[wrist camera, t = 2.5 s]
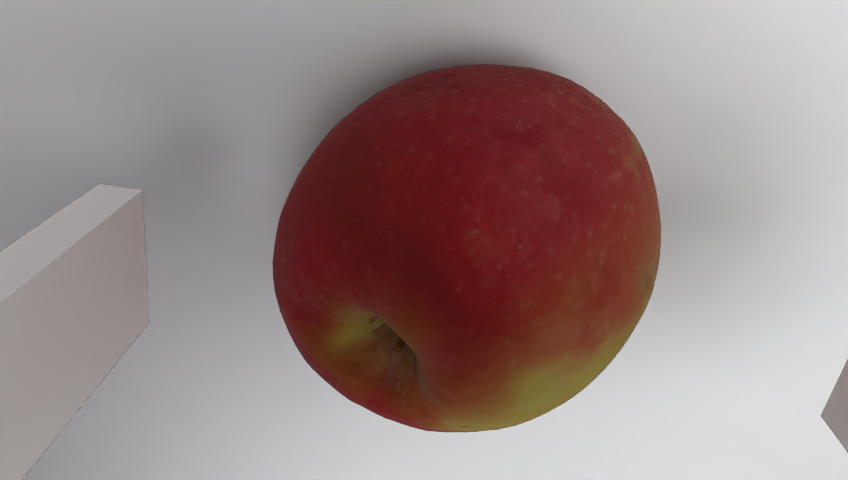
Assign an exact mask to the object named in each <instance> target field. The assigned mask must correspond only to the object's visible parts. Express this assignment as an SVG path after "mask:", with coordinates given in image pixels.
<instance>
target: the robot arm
mask: <svg viewBox="0 0 848 480" xmlns="http://www.w3.org/2000/svg"><path fill="white" fill-rule="evenodd" d="M148 324H149V305H148V287H147V268H146V250H145V231H144V213H143V194H142V190H139V189H132V188H125V187H118V186H110V185H103V184H98V185H97V186H95V187H94V188H92V189H91V190H89V191H88V192H86V193H85V194H84V195H82V196H81V197H79V198H78V199H76V200H75V201H73V202H72V203H70V204H69V205H67V206H66V207H65V208H63V209H62V210H60V211H59V212H57V213H56V214H54V215H53V216H51V217H50V218H48V219H47V220H45V221H44V222H43V223H41V224H40V225H38V226H37V227H35V228H34V229H32V230H31V231H29V232H28V233H26V234H25V235H24V236H22V237H21V238H19V239H18V240H16V241H15V242H13V243H12V244H10V245H9V246H7V247H6V248H5V249H3V250H2V251H0V480H22V479H23V478H24V477H25V475H26V474H27V473H28V472H29V471H30V469H31V468H32V467H33V466H34V464H35V463H36V462H37V461H38V459H39V458H40V457H41V456H42V455H43V453H44V452H45V451H46V450H47V448H48V447H49V446H50V445H51V443H52V442H53V441H54V440H55V438H56V437H57V436H58V435H59V434H60V432H61V431H62V430H63V429H64V427H65V426H66V425H67V424H68V422H69V421H70V420H71V419H72V418H73V416H74V415H75V414H76V413H77V411H78V410H79V409H80V408H81V406H82V405H83V404H84V403H85V401H86V400H87V399H88V398H89V397H90V395H91V394H92V393H93V392H94V390H95V389H96V388H97V387H98V385H99V384H100V383H101V382H102V381H103V379H104V378H105V377H106V376H107V374H108V373H109V372H110V371H111V369H112V368H113V367H114V366H115V365H116V363H117V362H118V361H119V360H120V358H121V357H122V356H123V355H124V353H125V352H126V351H127V350H128V348H129V347H130V346H131V345H132V344H133V342H134V341H135V340H136V339H137V337H138V336H139V335H140V334H141V332H142V331H143V330H144V329H145V328H146V326H147V325H148ZM821 417H822V418H823V420H824V421H825V422H826V424H827V425H828V426H829V428H830V429H831V430H832V432H833V433H834V435H835V436H836V437H837V439H838V440H839V441H840V443H841V444H842V445H843V447H844V448H845V449H846V451H847V452H848V360H847V362H846V364H845V366H844V368H843V370H842V372H841V374H840V376H839V378H838V380H837V383H836V385H835V387H834V389H833V391H832V393H831V395H830V397H829V399H828V401H827V404H826V406H825V408H824V410H823V412H822V414H821Z"/></svg>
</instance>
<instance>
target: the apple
mask: <svg viewBox="0 0 848 480" xmlns="http://www.w3.org/2000/svg"><path fill="white" fill-rule="evenodd" d="M660 246H661V223H660V214H659V206H658V200H657V193H656V189H655V184H654V180H653V176H652V173H651V170H650V167H649V164H648V161H647V158H646V156H645V154H644V152H643V149H642V147H641V146H640V144H639V142H638V140H637V138H636V137H635V135H634V134H633V132H632V131H631V130H630V128H629V127H628V126H627V125H626V124H625V122H624V121H623V120H622V119H621V118H620V117H619V116H618V115H617V114H615V113H614V112H613V111H612V110H611V109H610V108H609V107H608V106H607V105H606V104H605V103H604V102H603V101H602V100H601V99H599V98H598V97H597V96H595V95H594V94H592V93H591V92H589V91H588V90H587V89H585V88H584V87H582V86H580V85H578V84H576V83H575V82H573V81H571V80H569V79H566V78H564V77H561V76H558V75H555V74H552V73H549V72H546V71H541V70H537V69H532V68H525V67H516V66H506V65H487V64H482V65H466V66H456V67H450V68H444V69H439V70H434V71H430V72H426V73H422V74H418V75H416V76H413V77H411V78H408V79H405V80H403V81H401V82H399V83H397V84H395V85H393V86H391V87H389V88H387V89H385V90H383V91H381V92H379V93H378V94H376V95H374V96H373V97H371V98H370V99H368V100H367V101H365V102H364V103H362V104H361V105H359V106H358V107H357V108H356V109H355V110H353V111H352V112H351V113H350V114H348V115H347V116H346V117H345V118H344V119H342V120H341V121H340V122H339V123H338V124H337V125H336V126H335V127H334V128H333V129H332V130H331V131H330V132H329V133H328V135H327V136H326V137H325V138H324V139H323V141H322V142H321V143H320V145H319V146H318V147H317V149H316V150H315V151H314V153H313V154H312V155H311V157H310V158H309V160H308V161H307V163H306V164H305V166H304V167H303V169H302V170H301V172H300V174H299V175H298V177H297V179H296V181H295V183H294V185H293V187H292V189H291V191H290V193H289V195H288V198H287V200H286V202H285V204H284V207H283V210H282V213H281V216H280V219H279V223H278V228H277V233H276V240H275V247H274V255H273V280H274V287H275V294H276V297H277V301H278V305H279V308H280V312H281V314H282V317H283V319H284V322H285V324H286V326H287V329H288V331H289V333H290V335H291V337H292V339H293V341H294V343H295V345H296V347H297V348H298V350H299V352H300V353H301V354H302V356H303V357H304V359H305V360H306V362H307V363H308V364H309V365H310V366H311V368H312V369H313V370H314V371H315V372H317V373H318V374H319V375H320V376H321V377H322V378H323V379H324V380H325V381H326V382H327V383H329V384H330V385H331V386H332V387H333V388H335V389H336V390H337V391H338V392H340V393H341V394H342V395H344V396H345V397H346V398H348V399H349V400H351V401H352V402H354V403H356V404H359V405H361V406H363V407H365V408H366V409H368V410H370V411H372V412H374V413H376V414H378V415H380V416H382V417H384V418H387V419H390V420H393V421H396V422H399V423H401V424H404V425H407V426H410V427H414V428H418V429H422V430H426V431H437V432H477V431H486V430H497V429H502V428H506V427H511V426H516V425H518V424H521V423H524V422H527V421H529V420H532V419H534V418H536V417H539V416H541V415H543V414H545V413H547V412H549V411H551V410H552V409H554V408H556V407H558V406H560V405H561V404H563V403H565V402H566V401H568V400H569V399H571V398H572V397H574V396H575V395H576V394H578V393H579V392H580V391H582V390H583V389H584V388H585V387H586V386H588V385H589V384H590V383H591V382H592V381H593V380H594V379H595V378H596V377H597V376H598V375H599V374H600V373H601V372H602V371H603V370H604V369H605V368H606V367H607V366H608V365H609V364H610V362H611V361H612V360H613V359H614V357H615V356H616V355H617V354H618V352H619V351H620V350H621V348H622V347H623V346H624V344H625V343H626V341H627V340H628V338H629V337H630V335H631V333H632V332H633V330H634V328H635V327H636V325H637V323H638V322H639V320H640V318H641V316H642V315H643V313H644V311H645V309H646V306H647V304H648V302H649V299H650V296H651V293H652V291H653V287H654V283H655V279H656V275H657V270H658V264H659V257H660Z"/></svg>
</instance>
